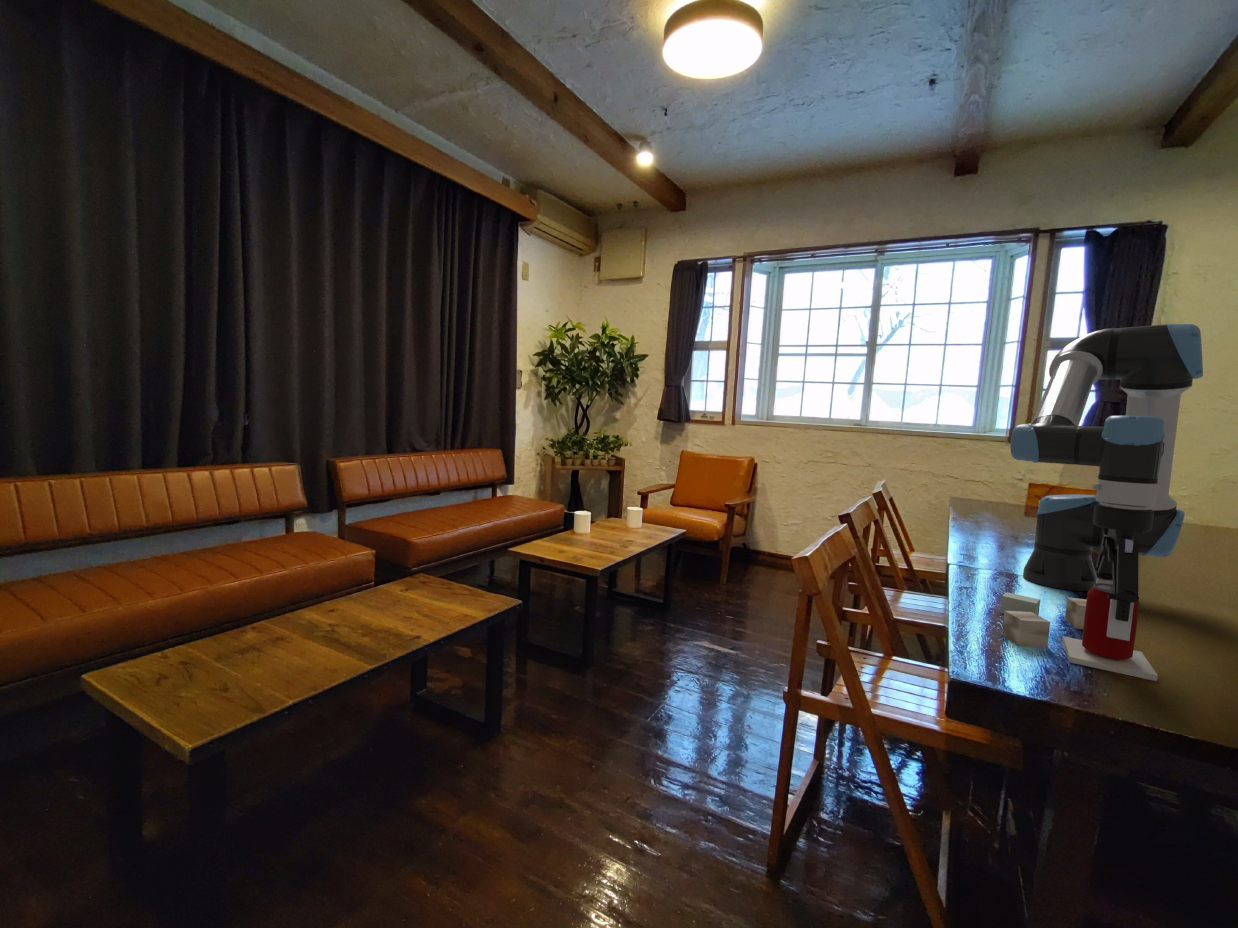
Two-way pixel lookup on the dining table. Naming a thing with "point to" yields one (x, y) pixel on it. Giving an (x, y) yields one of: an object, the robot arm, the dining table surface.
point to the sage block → (1019, 603)
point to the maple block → (1026, 629)
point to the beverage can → (1105, 626)
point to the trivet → (1109, 661)
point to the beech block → (1075, 612)
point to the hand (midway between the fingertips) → (1109, 625)
